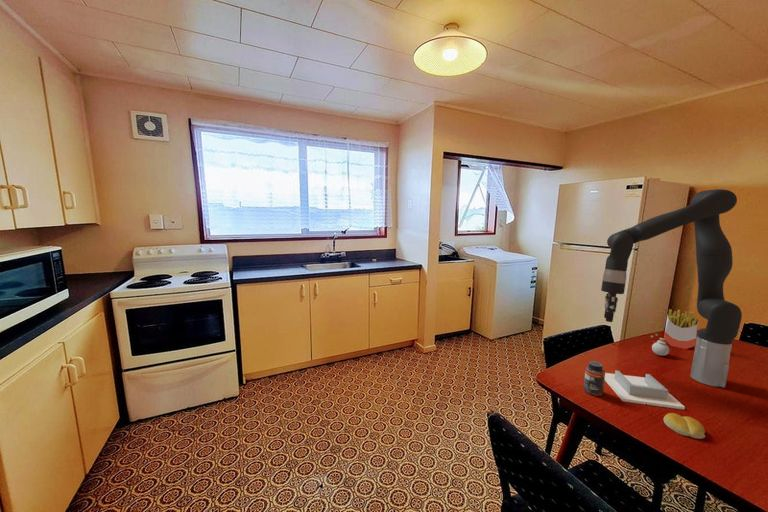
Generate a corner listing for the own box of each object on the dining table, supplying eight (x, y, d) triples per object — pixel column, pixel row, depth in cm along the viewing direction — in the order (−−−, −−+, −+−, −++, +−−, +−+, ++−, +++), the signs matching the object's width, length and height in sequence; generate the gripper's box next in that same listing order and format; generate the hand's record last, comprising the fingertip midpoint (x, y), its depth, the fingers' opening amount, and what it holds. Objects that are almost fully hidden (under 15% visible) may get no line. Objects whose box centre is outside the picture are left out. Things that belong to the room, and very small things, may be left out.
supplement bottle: (599, 389, 113) (602, 361, 111) (605, 398, 107) (609, 369, 105) (581, 385, 114) (584, 358, 113) (586, 394, 109) (589, 366, 107)
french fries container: (694, 351, 143) (700, 315, 141) (663, 344, 151) (668, 310, 148) (693, 347, 147) (699, 312, 144) (663, 341, 154) (668, 308, 151)
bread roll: (660, 416, 98) (662, 405, 97) (698, 427, 93) (700, 415, 92) (666, 431, 91) (668, 420, 90) (708, 444, 86) (710, 431, 86)
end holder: (599, 374, 122) (601, 364, 122) (651, 380, 118) (653, 370, 117) (622, 401, 105) (624, 389, 105) (684, 409, 101) (686, 397, 100)
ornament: (667, 359, 135) (670, 338, 134) (646, 353, 141) (648, 333, 139) (669, 355, 139) (672, 335, 138) (648, 349, 145) (651, 330, 143)
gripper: (628, 283, 114) (621, 325, 114) (623, 281, 126) (617, 319, 126) (603, 280, 118) (597, 320, 119) (601, 278, 130) (596, 315, 130)
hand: (608, 319), depth 122 cm, fingers open, 8 cm apart
